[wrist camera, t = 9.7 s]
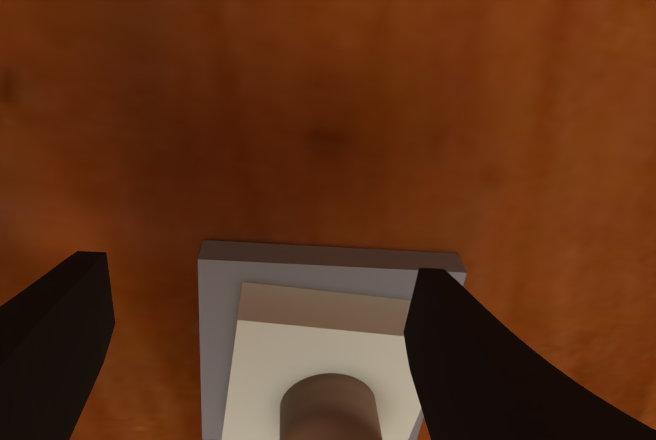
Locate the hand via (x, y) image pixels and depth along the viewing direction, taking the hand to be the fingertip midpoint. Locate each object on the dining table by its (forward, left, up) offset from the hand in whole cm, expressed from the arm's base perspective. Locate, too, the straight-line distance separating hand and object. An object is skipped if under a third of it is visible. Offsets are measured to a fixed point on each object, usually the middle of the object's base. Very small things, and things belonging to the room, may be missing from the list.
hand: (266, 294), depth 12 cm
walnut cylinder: (+3, -11, -6) cm, 13 cm away
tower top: (+3, -11, -9) cm, 15 cm away
